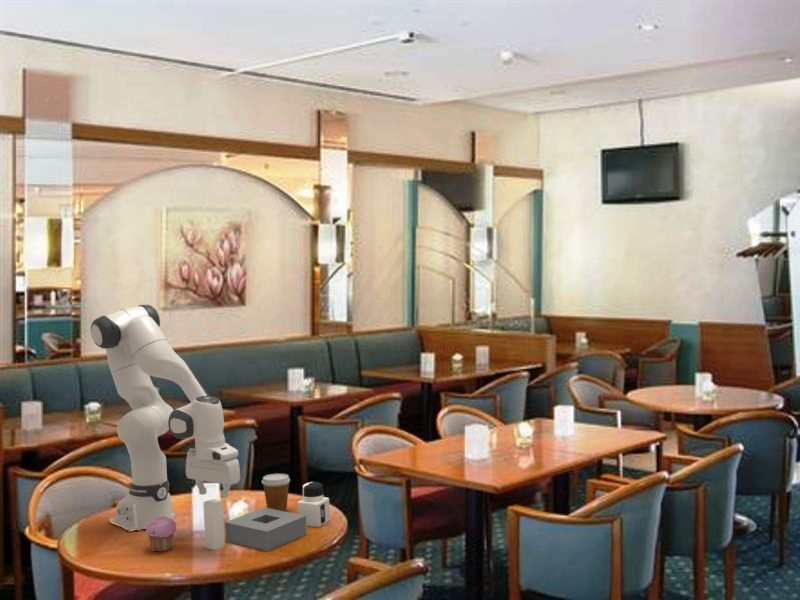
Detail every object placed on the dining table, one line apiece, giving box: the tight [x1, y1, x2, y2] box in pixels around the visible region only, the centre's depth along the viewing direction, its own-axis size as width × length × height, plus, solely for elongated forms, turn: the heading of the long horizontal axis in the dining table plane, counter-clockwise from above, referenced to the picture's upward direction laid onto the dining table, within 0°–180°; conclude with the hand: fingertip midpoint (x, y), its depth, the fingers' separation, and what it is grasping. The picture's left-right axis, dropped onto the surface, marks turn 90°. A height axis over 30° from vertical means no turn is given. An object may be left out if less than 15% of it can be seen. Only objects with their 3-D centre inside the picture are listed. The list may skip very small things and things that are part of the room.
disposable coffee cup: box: [261, 473, 291, 512], centre depth 307 cm, size 10×10×12 cm
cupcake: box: [145, 516, 177, 552], centre depth 272 cm, size 9×9×10 cm
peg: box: [202, 498, 225, 551], centre depth 273 cm, size 4×4×14 cm
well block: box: [224, 507, 307, 552], centre depth 280 cm, size 18×18×6 cm
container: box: [296, 481, 331, 528], centre depth 293 cm, size 8×8×13 cm
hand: (213, 495), depth 272 cm, fingers open, 8 cm apart
